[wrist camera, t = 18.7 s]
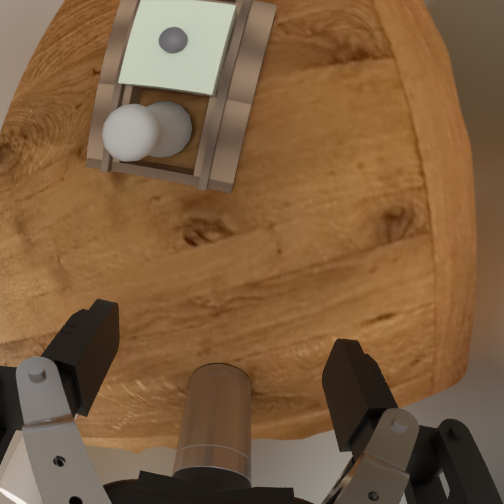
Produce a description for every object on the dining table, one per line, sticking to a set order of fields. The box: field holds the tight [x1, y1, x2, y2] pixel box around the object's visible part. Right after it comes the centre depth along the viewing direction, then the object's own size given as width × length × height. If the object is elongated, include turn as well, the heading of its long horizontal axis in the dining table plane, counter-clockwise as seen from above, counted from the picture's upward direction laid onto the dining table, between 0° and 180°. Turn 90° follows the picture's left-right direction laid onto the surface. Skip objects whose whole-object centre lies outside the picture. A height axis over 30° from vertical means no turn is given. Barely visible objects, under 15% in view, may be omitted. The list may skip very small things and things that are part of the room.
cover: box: [118, 0, 237, 97], centre depth 24 cm, size 9×9×4 cm
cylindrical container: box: [0, 414, 78, 504], centre depth 37 cm, size 7×7×25 cm
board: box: [86, 0, 277, 193], centre depth 28 cm, size 20×16×4 cm
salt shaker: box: [102, 101, 192, 162], centre depth 26 cm, size 6×6×13 cm
